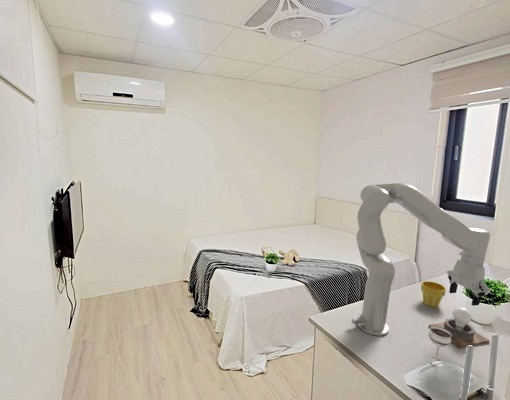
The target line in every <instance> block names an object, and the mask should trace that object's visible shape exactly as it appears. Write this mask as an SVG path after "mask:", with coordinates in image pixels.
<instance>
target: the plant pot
mask: <svg viewBox="0 0 510 400" xmlns="http://www.w3.org/2000/svg"><path fill="white" fill-rule="evenodd" d="M420 289H421V292H422V301H423V304H425V305H426V306H429V307H432V308H436V307H439V305H440V304H441V301H442V299H443V297H445V296H446V290H447V289H446V287H445V286H444V285H442V284H441V283H439V282H436V281H429V280H428V281H427V280H424V281H422V282H421V286H420Z"/></svg>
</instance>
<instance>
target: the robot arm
mask: <svg viewBox="0 0 510 400" xmlns="http://www.w3.org/2000/svg"><path fill="white" fill-rule="evenodd" d="M359 195H360V199H361V201H362V203H361V205H360V207H359V208H358V211H357V216H356V217H357V219H356V220H357V224H358V228H359V230H357V232H356V242H357V243H356V244H357V247H358V251H359V255H360V258H361V261H362V264H363V265H364V267H365V268H366V269H367V271H368V277H367V279H366V283H365V288H364V295H363V296H364V297H363V303H362V312H361V314H359V317H357V318H351V323H352V324H353V325H355V324H357V326H358V328H360V330H362V331H363V332H365V333H367V334H369V335H373V336H378V337H379V336H382V337H383V336H385V335H388V333H389V331H390V328H389V326H388V324H387V323H386V322H387V318H388V317H387V316H388V309H389V303H390V297H391V296H390V294H391V289H392V288H391V287H392V285H393V281H394V278H395V274H396V269H395V268H396V267H395V265H394V263H393V262H392V260H391V259H390V258H389V257H387V256H386V254H385V253H384V252H385V251H386V249H387V240H386V237H385V233H384V231H383V226H382V221H381V215H382V214H383V212H384V210H385V209H386V208H387V207H388V206H389V204H395V203H396V204H398V205H400V206H401V207H402V208H403V209H405V210H406V211H408V213H410V214H411V215H412V216H413V217H415V218H416V219H417V220H418V221H419V222H421V223H422V224H424V225H425V226H426V227H429V228H430V229H432V230H434V231H436V232H438V233H439V234H441V237H442V239H443V240H444V241H445V242H446V243H448V244H450V245H452V246H454V247H456V248H458V249H459V250H462V251H460V252H459V255H460V258H457V261H455V262H456V263H455V265H454V267H453V270H447V271H446V272H447V278H448V280H449V284H450V286H449V291H448V292H449V294H456V293H457V290H458V285H460V286H461V287H463V288H466V289H467V290H470V291H473V294H474V295H473V296H472V300H471V306H472V307H474V306H479V305H480V304H481V300H482V297H484V296H487V295H488V294H489V293H490V292H491V291H492V290H491V288H490V287H489V286H487V284H485V277H486V276H485V275H486V273H485V272H486V270H485V269H486V267H485V265H484V264H485V260H486V255H487V250H488V247H489V242H490V238H491V234H490V232H489V231H487V230H486V229H482V228H477V227H467V226H466V225H465V224H464V223H463V222H461V221H460V220H458V219H457V218H456V217H454V216H453V215H452V214H450V213H449V212H447V211H446V210H444V208H442V207H440V206H438V205H437V204H436V203H435V202H433V201H432V200H431V199H430V198H428V197H427V196H426V195H425V194H424V193H422V192H421V191H420V190H419V189H418V188H417V187H414V186H413V185H410V184H407V183H403V182H402V183H401V182H394V183H381V184H379V183H378V184H370V185H366V186H364V187H363V188H362V190H361V192H360V194H359ZM482 289H483V290H482Z"/></svg>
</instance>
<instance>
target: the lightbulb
mask: <svg viewBox="0 0 510 400" xmlns="http://www.w3.org/2000/svg"><path fill="white" fill-rule="evenodd" d="M452 316H453V317H452V318H453V319H455V324H456V327H455V329H457V330H460V331H463V328H464V327H465V325H466V324H469V323H470V322H471V320H472V314H471V312H470V311H469V310H468V309H467V308H465V307H462V306H458V307H455V308H454V309H453V310H452Z"/></svg>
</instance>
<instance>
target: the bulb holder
mask: <svg viewBox="0 0 510 400" xmlns="http://www.w3.org/2000/svg"><path fill="white" fill-rule="evenodd" d="M432 326H438V327H442V328H444V329H446V330H448V331H449V332H450V333H451V334H452V337H451V343H450V344H452V345H454V346H455V347H457V348H458V349H461V348H467V347H466V346H468V345H473V346H472V347H474V346H480V345H485V344H488V343H490V342H491V341H490V340H489V339H488V338H486V337H485V336H483V335H482V334H480V333H478V332H477V331H475V330H476V329H475V328H474V326H472V325H470V324H469V323H467V324H466V325H465V327H464V328H463V331H460V330H457V329H455V327H456V324H455V319H454V318H447V319H445V321H444V322H438V323H431V324H429V325H428V328H430V327H432ZM468 347H469V346H468Z"/></svg>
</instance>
